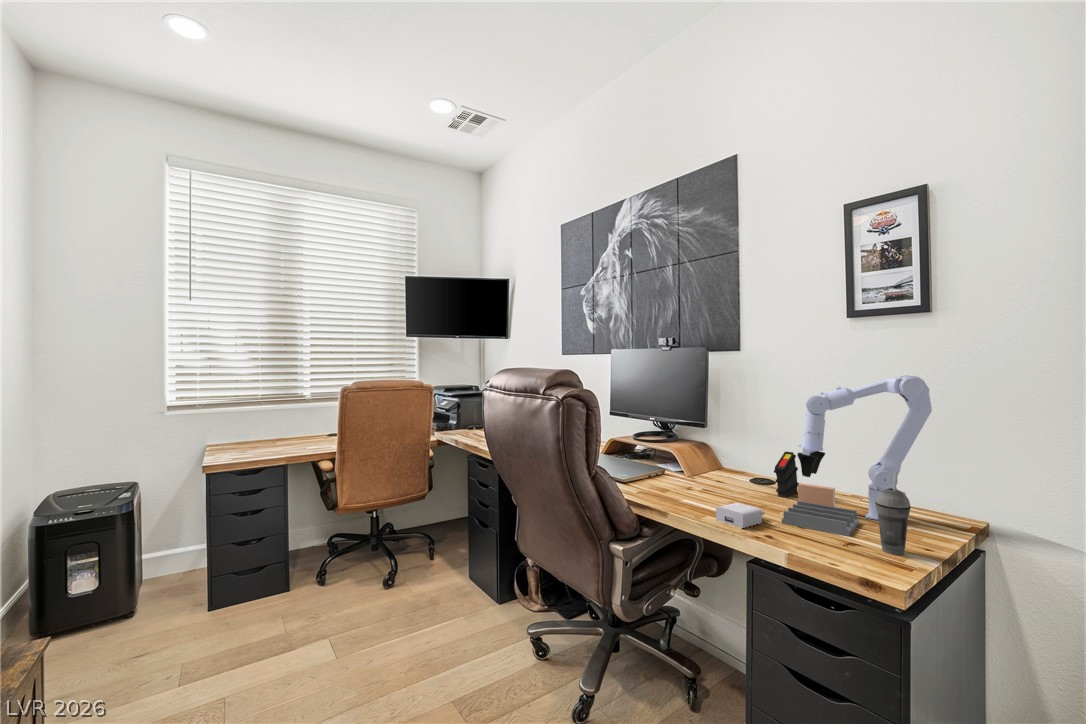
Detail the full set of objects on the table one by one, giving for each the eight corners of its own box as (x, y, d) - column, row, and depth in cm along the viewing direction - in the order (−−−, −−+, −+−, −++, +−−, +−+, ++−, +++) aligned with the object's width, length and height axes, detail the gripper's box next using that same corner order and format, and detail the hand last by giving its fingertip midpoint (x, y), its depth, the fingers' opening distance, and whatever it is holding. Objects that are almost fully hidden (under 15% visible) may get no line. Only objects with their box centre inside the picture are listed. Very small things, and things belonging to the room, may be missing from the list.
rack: (859, 523, 145) (858, 510, 145) (848, 536, 134) (848, 523, 134) (796, 511, 157) (796, 500, 157) (781, 523, 145) (781, 510, 145)
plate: (835, 513, 155) (834, 487, 155) (833, 515, 153) (833, 489, 153) (800, 507, 162) (800, 482, 162) (798, 509, 160) (797, 484, 160)
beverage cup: (896, 546, 127) (895, 467, 127) (919, 557, 119) (918, 474, 120) (868, 546, 126) (868, 468, 127) (889, 557, 119) (889, 474, 119)
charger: (774, 521, 148) (742, 530, 140) (747, 513, 155) (715, 521, 147) (774, 505, 148) (742, 513, 140) (747, 498, 155) (715, 505, 147)
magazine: (802, 486, 183) (795, 452, 179) (789, 508, 175) (782, 472, 170) (791, 484, 186) (784, 450, 181) (778, 506, 177) (771, 470, 173)
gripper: (806, 429, 167) (802, 469, 167) (793, 432, 156) (789, 475, 156) (829, 432, 162) (825, 473, 163) (818, 436, 151) (814, 480, 152)
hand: (809, 474), depth 159 cm, fingers open, 7 cm apart
